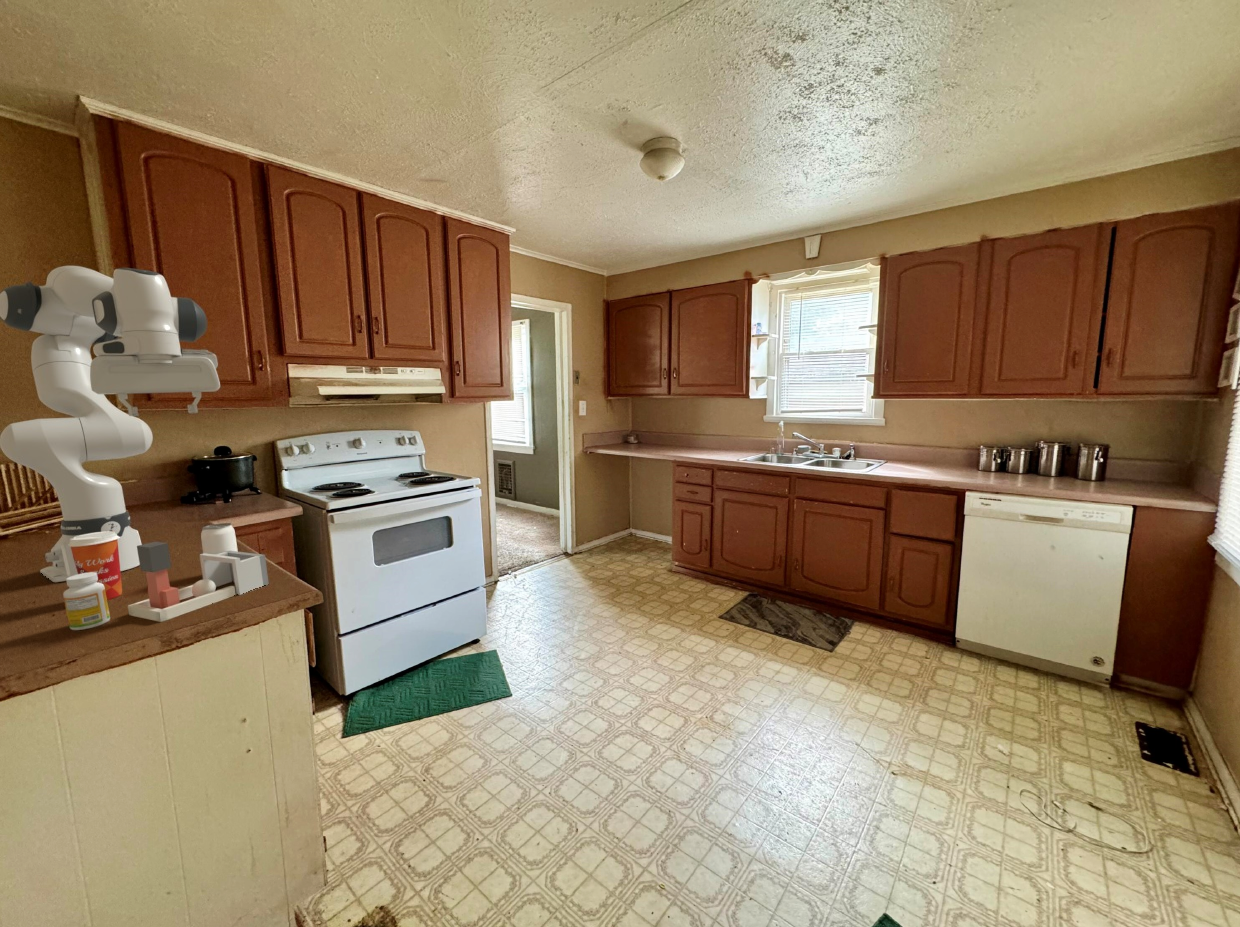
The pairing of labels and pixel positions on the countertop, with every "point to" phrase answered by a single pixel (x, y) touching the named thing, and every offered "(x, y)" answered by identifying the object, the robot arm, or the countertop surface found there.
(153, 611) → the white flat open frame
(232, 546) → the can
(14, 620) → the countertop surface
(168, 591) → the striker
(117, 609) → the countertop surface
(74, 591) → the supplement bottle
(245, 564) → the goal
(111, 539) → the paper cup
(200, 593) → the ball
